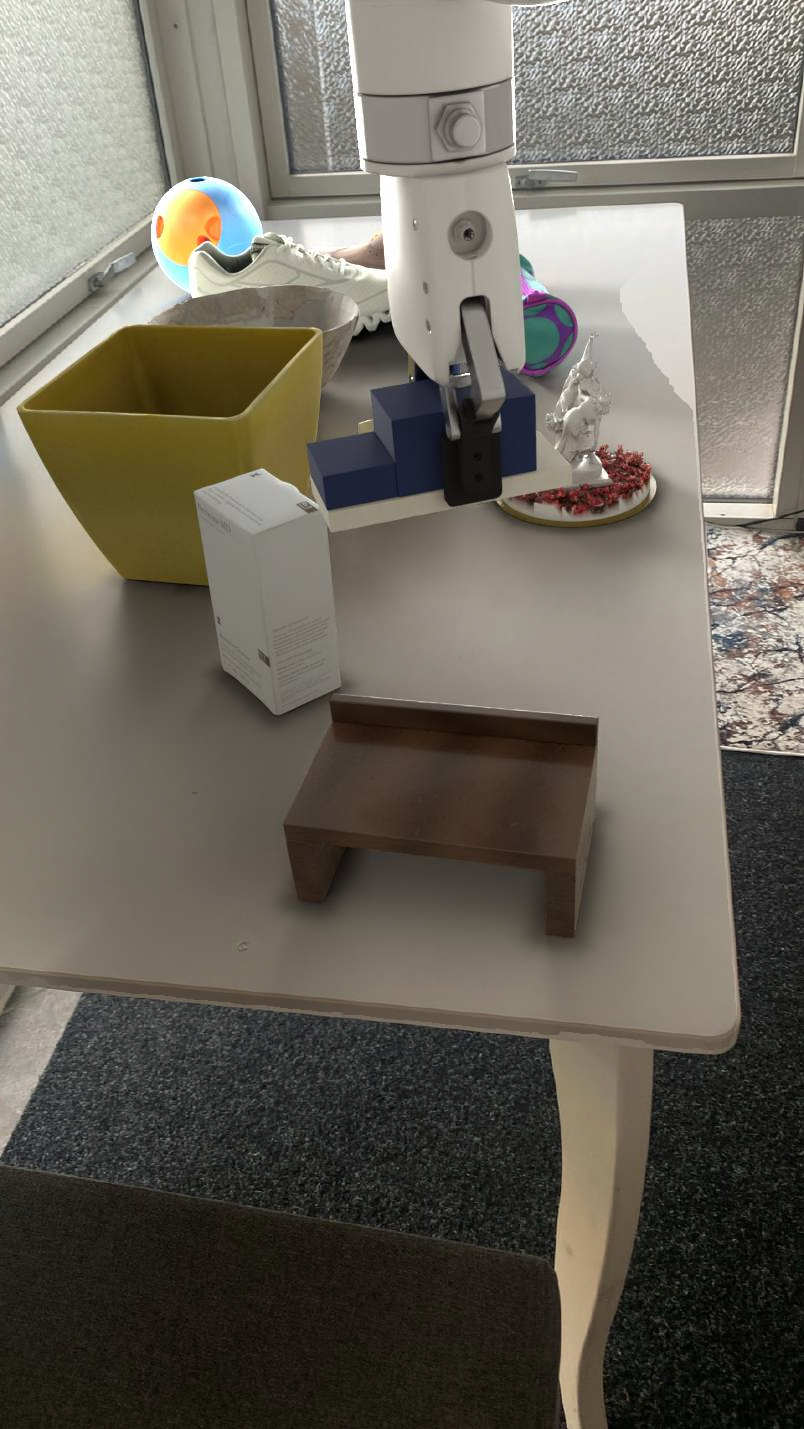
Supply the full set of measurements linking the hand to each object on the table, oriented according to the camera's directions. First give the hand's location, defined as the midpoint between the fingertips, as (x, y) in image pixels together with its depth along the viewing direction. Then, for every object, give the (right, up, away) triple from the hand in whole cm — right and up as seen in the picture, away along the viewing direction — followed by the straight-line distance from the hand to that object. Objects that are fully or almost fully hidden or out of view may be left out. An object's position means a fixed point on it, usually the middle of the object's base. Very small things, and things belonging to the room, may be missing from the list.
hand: (457, 475), depth 64 cm
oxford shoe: (-3, +45, +92) cm, 103 cm away
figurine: (+13, +7, +40) cm, 42 cm away
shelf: (0, -22, +3) cm, 22 cm away
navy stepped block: (-1, -1, 0) cm, 1 cm away
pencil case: (+11, +30, +70) cm, 77 cm away
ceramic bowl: (-19, +21, +62) cm, 68 cm away
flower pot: (-20, +1, +35) cm, 41 cm away
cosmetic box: (-12, -11, +19) cm, 25 cm away
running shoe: (-16, +36, +81) cm, 90 cm away
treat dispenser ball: (-30, +47, +98) cm, 113 cm away
